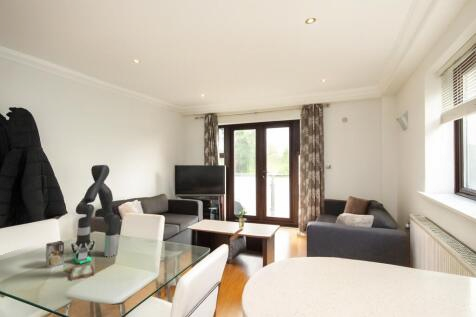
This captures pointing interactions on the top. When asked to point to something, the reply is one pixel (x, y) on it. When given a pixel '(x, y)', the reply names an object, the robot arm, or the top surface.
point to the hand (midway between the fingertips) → (82, 257)
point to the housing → (82, 254)
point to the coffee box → (54, 254)
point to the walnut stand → (81, 272)
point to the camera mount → (81, 261)
